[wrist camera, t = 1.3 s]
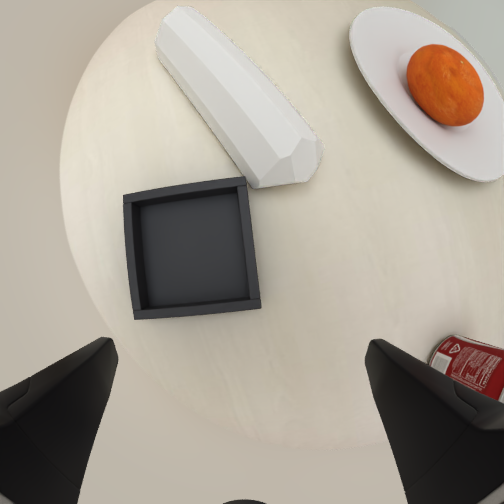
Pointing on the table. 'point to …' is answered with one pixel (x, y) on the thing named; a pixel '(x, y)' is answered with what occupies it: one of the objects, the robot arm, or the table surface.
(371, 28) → the plate
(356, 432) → the table surface
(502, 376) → the soda can
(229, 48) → the crystal
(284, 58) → the table surface
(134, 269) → the dark grey square tray
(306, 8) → the table surface
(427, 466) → the robot arm
